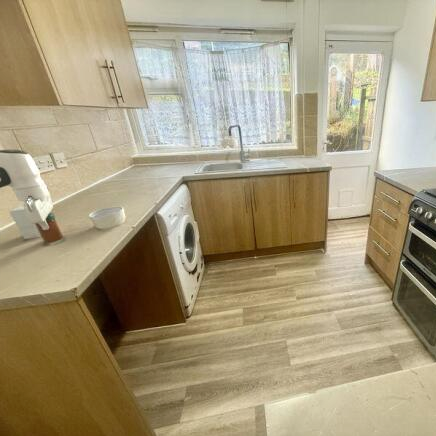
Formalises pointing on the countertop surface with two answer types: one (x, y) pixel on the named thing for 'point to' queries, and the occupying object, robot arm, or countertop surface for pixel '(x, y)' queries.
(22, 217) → the small box
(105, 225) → the ramekin
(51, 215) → the lid
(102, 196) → the countertop surface
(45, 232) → the jar
